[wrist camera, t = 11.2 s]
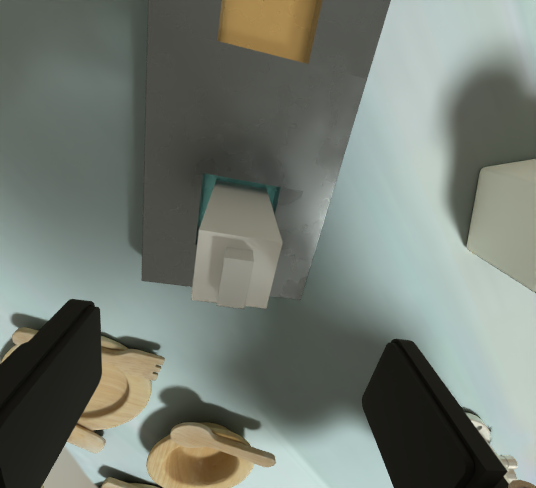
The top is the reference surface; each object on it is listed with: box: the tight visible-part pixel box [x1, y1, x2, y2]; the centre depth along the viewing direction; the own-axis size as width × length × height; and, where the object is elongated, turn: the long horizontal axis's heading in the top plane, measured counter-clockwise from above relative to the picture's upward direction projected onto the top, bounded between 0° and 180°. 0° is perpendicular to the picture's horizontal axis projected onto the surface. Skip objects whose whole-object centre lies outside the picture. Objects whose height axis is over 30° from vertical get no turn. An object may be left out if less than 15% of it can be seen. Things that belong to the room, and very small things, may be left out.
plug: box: [191, 180, 283, 309], centre depth 17 cm, size 4×4×10 cm
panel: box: [142, 0, 391, 300], centre depth 18 cm, size 12×24×2 cm, turn 168°
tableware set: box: [0, 327, 276, 488], centre depth 32 cm, size 35×29×4 cm
